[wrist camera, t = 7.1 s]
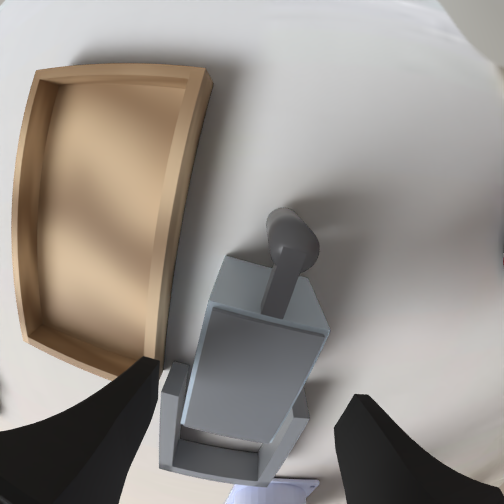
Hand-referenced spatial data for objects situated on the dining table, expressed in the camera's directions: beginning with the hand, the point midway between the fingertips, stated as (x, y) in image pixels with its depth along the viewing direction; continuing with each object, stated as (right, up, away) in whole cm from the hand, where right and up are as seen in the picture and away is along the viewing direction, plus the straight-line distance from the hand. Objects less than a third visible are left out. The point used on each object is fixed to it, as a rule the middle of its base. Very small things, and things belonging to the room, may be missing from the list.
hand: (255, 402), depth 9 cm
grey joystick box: (0, +3, +6) cm, 7 cm away
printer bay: (-2, -6, +9) cm, 11 cm away
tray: (-9, +7, +5) cm, 12 cm away
